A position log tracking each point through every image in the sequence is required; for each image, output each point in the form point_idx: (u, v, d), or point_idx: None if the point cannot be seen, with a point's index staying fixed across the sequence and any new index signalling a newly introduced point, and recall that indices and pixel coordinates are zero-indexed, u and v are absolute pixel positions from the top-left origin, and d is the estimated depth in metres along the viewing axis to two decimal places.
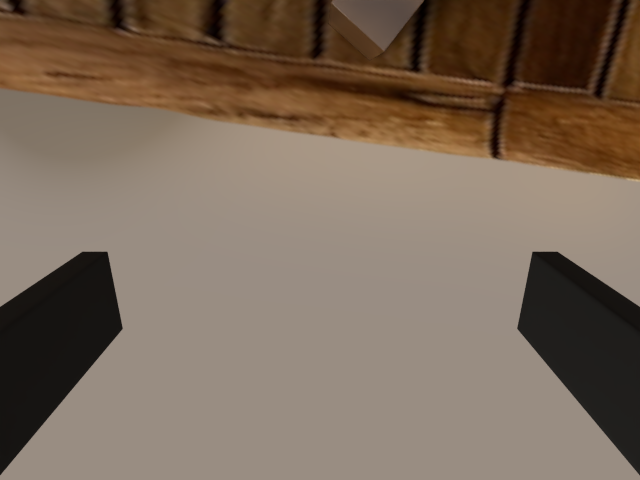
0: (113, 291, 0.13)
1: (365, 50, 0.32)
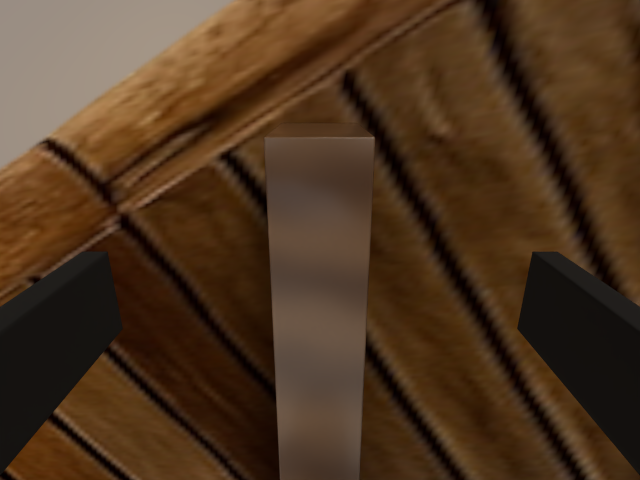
0: (113, 291, 0.13)
1: (293, 126, 0.22)
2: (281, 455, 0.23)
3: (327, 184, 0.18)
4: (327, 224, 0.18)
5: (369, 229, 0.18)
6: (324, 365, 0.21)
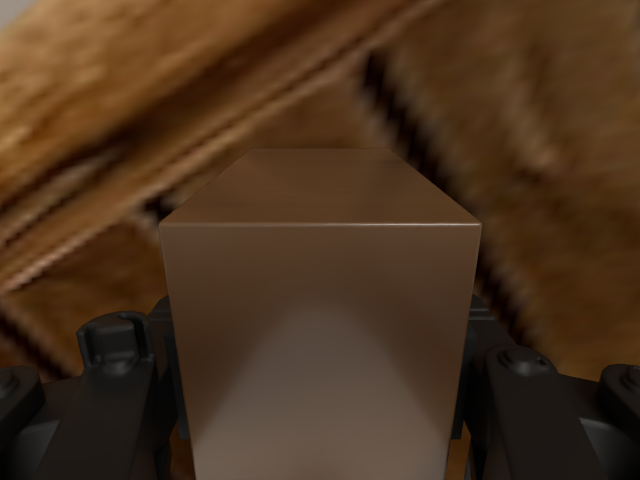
0: None
1: (267, 161, 0.11)
2: None
3: (342, 342, 0.06)
4: (341, 431, 0.07)
5: (447, 440, 0.07)
6: None
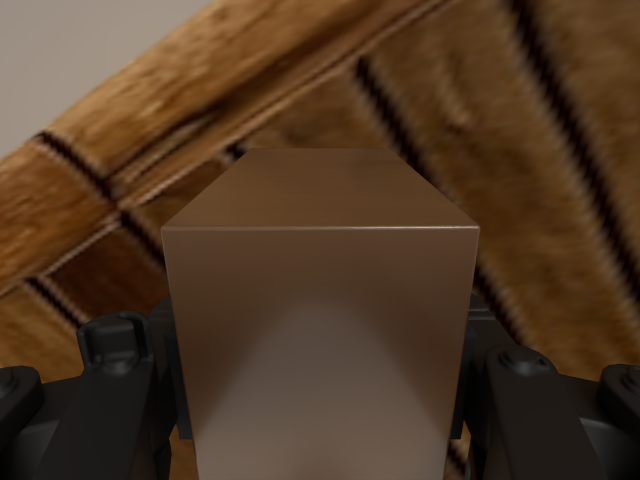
0: None
1: (267, 162, 0.11)
2: None
3: (342, 343, 0.07)
4: (342, 430, 0.07)
5: (446, 439, 0.07)
6: None
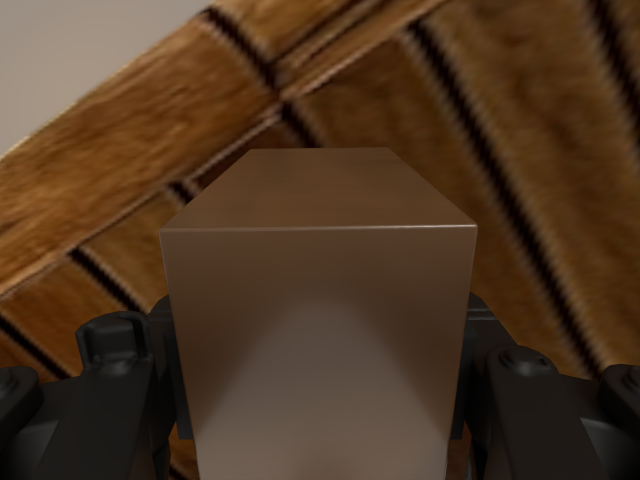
0: None
1: (266, 163, 0.11)
2: None
3: (341, 344, 0.07)
4: (342, 430, 0.07)
5: (447, 438, 0.07)
6: None
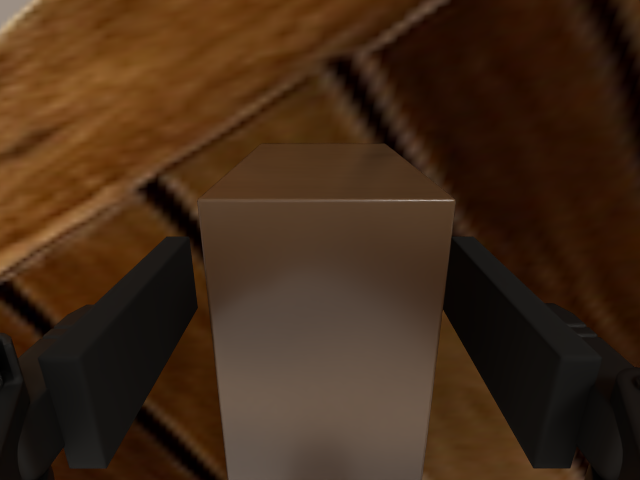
0: (192, 272, 0.14)
1: (277, 154, 0.12)
2: None
3: (344, 298, 0.08)
4: (343, 374, 0.09)
5: (430, 383, 0.09)
6: None
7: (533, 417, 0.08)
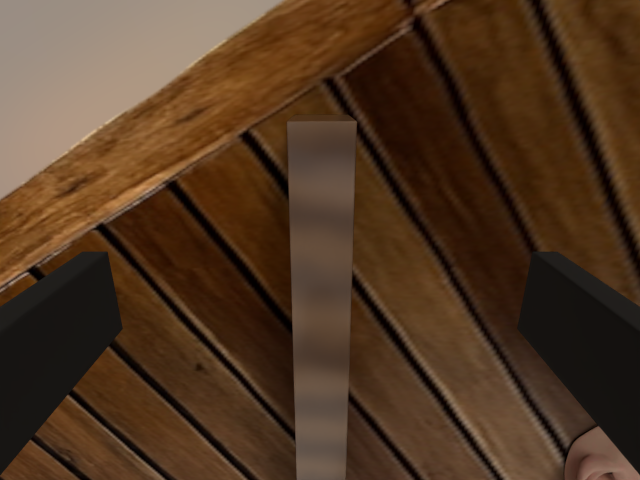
0: (113, 291, 0.13)
1: (303, 116, 0.32)
2: (294, 346, 0.33)
3: (326, 151, 0.28)
4: (327, 178, 0.28)
5: (354, 182, 0.28)
6: (324, 277, 0.31)
7: None
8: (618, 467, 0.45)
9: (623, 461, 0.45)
